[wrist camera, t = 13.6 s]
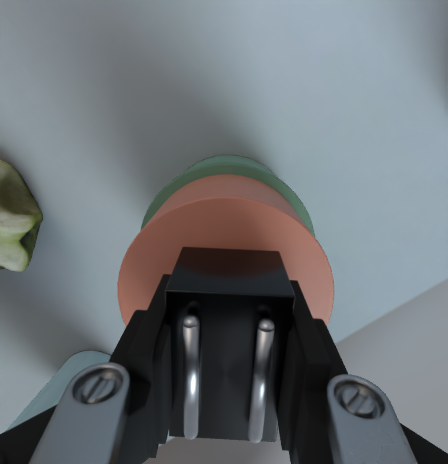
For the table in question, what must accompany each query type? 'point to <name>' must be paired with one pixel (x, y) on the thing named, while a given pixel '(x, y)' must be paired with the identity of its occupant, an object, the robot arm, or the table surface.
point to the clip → (227, 342)
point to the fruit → (16, 220)
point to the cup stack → (225, 230)
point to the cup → (59, 384)
